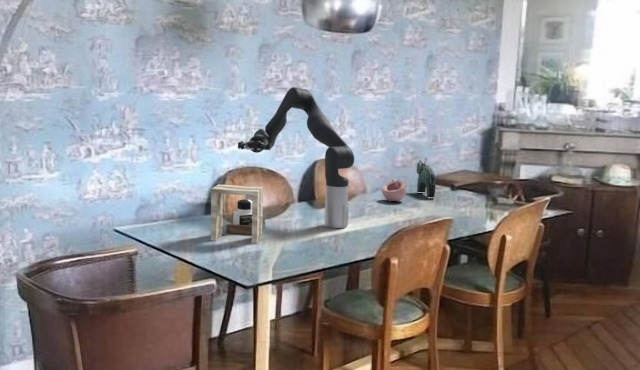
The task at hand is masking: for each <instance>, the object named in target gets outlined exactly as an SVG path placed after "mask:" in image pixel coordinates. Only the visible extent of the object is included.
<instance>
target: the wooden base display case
mask: <svg viewBox="0 0 640 370" xmlns="http://www.w3.org/2000/svg"><path fill="white" fill-rule="evenodd" d="M245 199H247V200H251V201H252V195H245ZM265 225H266V219H265V218H264V219H263V218H262V228H263V227H264V226H265ZM225 233H226V234H227V233H230V234H243V235H245V234H247V235H252V226H249V225H234V224H233V221H231V222H230V223H229V224H228V223H226V225H225Z"/></svg>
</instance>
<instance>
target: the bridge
mask: <svg viewBox="0 0 640 370" xmlns="http://www.w3.org/2000/svg"><path fill="white" fill-rule="evenodd" d="M224 195H241V196H246V195H252V234H251V244H258V243H259V242H260V240H261V239H262V237H263V227H262V219H263V212H264V210H263V209H264V207H263V206H264V205H263V203H264V186H255V185H254V186H253V185H252V186H251V185H233V184H232V185H231V184H217V185H215V186H213V187H212V188H211V190H210V241H213V242H214V241H215V242H216V241H217V240H219V239H220V237H221V236H222V235H223V232H224V229H223V227H224V226H223V223H224V222H223V221H224V220H223V219H224Z"/></svg>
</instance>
